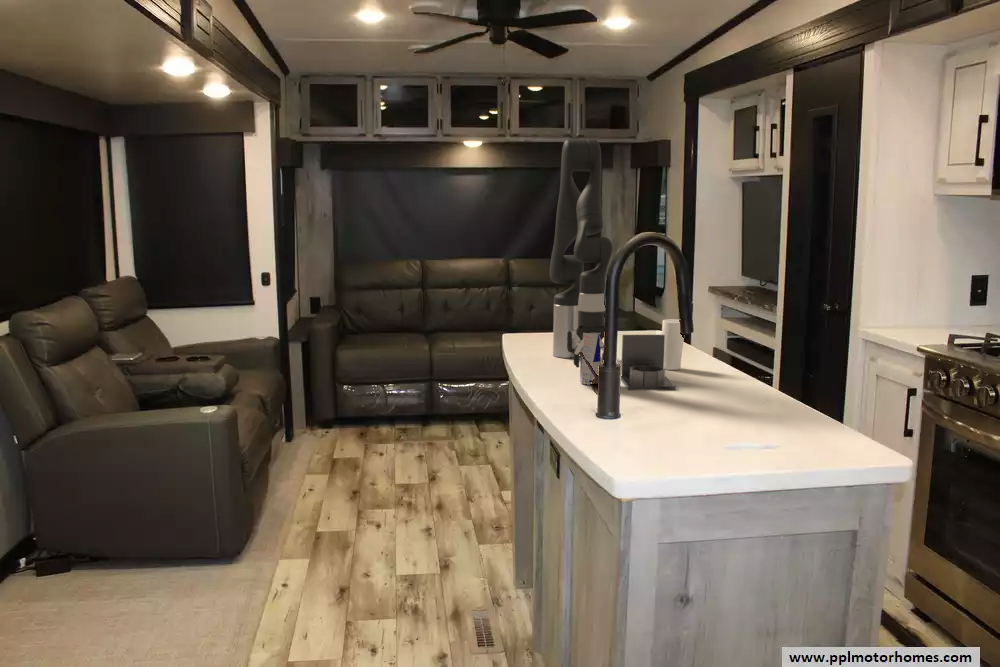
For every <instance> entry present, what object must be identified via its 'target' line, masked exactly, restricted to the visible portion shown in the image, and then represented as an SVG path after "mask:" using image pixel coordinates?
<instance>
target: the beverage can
mask: <svg viewBox="0 0 1000 667" xmlns="http://www.w3.org/2000/svg"><path fill="white" fill-rule="evenodd" d="M598 334H599V335H598ZM600 334H601V333H596V332H590V333H583V338H584V336H585V335H586V336H585V338H584V346H583V347H582V348H581V352H582V353H583V355H584V357H585V359H586V360H587V361H588V362H589V363H590V365H591V366H592V368H593V370H594V371H595V373H596V374H598V366H599V364H600V365H601V360H602V352H601V351H602V349H601V347H600V338H601V335H600ZM599 336H600V338H599ZM582 344H583V343H582ZM579 370H580V371H579V382H580V383H581V384H582V385H585V384H587V385H586V386H591V385H590V384H591V382H592V380H593V378H594V375H593V374H592V372H591V370H590V369H589V367H588V365H587V364H586V362H585V360H584V359H583V357H582V356H580V362H579Z"/></svg>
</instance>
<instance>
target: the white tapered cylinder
mask: <svg viewBox="0 0 1000 667" xmlns="http://www.w3.org/2000/svg"><path fill="white" fill-rule="evenodd" d="M679 320H680V319H677V318H676V319H675V318H673V319H671V318H666V319H663V320H662V325H661V326H662V327H661V335H665V341H664V367H663V369H665V371H678V370H681V368H682V367H681V366H682V356H683V355H682V354H683V349H684V348H683V347H684V341H685V340H684V339H685V337H684V338H683V337H682V335H681V334H680V322H679Z"/></svg>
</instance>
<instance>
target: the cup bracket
mask: <svg viewBox="0 0 1000 667" xmlns="http://www.w3.org/2000/svg"><path fill="white" fill-rule="evenodd" d="M621 337H622V340H621V343H622V344H621V368H620V369H621V370H620V371H621V374H620V375H622V376H621V380H620V381H621V383H622V384H623V385H624V386H625V387H626V388H627V390H628V391H675V390H676V389H677V388H676V387H677V386H676V385H675V384H674V383H673V382H672V381H671V380H669V379H668V377H667V376H666V374H665V373H666V369H664V368H663V367H664V341H665V335H662V334H622V336H621Z"/></svg>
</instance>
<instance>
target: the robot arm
mask: <svg viewBox="0 0 1000 667" xmlns="http://www.w3.org/2000/svg"><path fill="white" fill-rule="evenodd" d="M601 150H602V148H601V146H600V142H599V141H598V140H597V139H594V138H570V139H566V140H565V141H564V142H563V146H562V149H561V164H560V185H559V186H560V187H559V193H558V200H557V208H556V218H555V232H554V240H553V247H552V251H551V256H550V258H551V259H550V264H549V278H550V281H551V282H553V283H554V284H571V286H570V287H569V288H568V289H566V290H565V291H563V292H560V293H556V294H555V295H554V297H553V329H552V332H553V334H552V336H553V337H552V356H554V357H557V358H563V359H564V358H565V359H567V358H568V359H570V357H574V358H573V366H575V367H576V368H580V356H579V352H580V351H581V348H582V347H583V346H584V338H585V336H586V335H585V336H584V338H583V333H590V332H596V333H601V334H600V335H601V338H600V336H599V338H600V347H601V351H602V352H601V364H602V363H603V360H604V345H605V343H604V342H603V339H604V338H605V336H604V328H605V329H606V316H605V317H604V313H605V314H606V308H605V305H606V304H605V305H604V290H605V291H606V276H607V271H608V267H609V265H610V261H611V258H612V255H613V250H614V248H613V244H612V241H611V240H610V239H609V237H607V236H592V235H596V234H599V233H600V232H601V231H602V230H603V229H604V221H603V213H602V203H601V201H602V198H601V195H602V194H601V192H602V189H601V188H602V187H601V186H602V151H601ZM574 172H589V179H588V181H587V184H585V187H584V189H583V190H582V191H581V192H580V190H579V189H578V187H577V184H576V183H575V181H574V178H573V173H574ZM573 242H575V244H574V247H573V254H565V253H566V251H567V249H568V248H569V246H570V245H571V244H572V243H573ZM584 263H590V264H591V263H594V264H595V263H597V264H596V267H595V268H593V269H591V270H587V271H586V270H585V269H584V268H585V267H584V265H585V264H584ZM584 270H585V271H584ZM598 335H599V334H598ZM582 343H583V344H582Z"/></svg>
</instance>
